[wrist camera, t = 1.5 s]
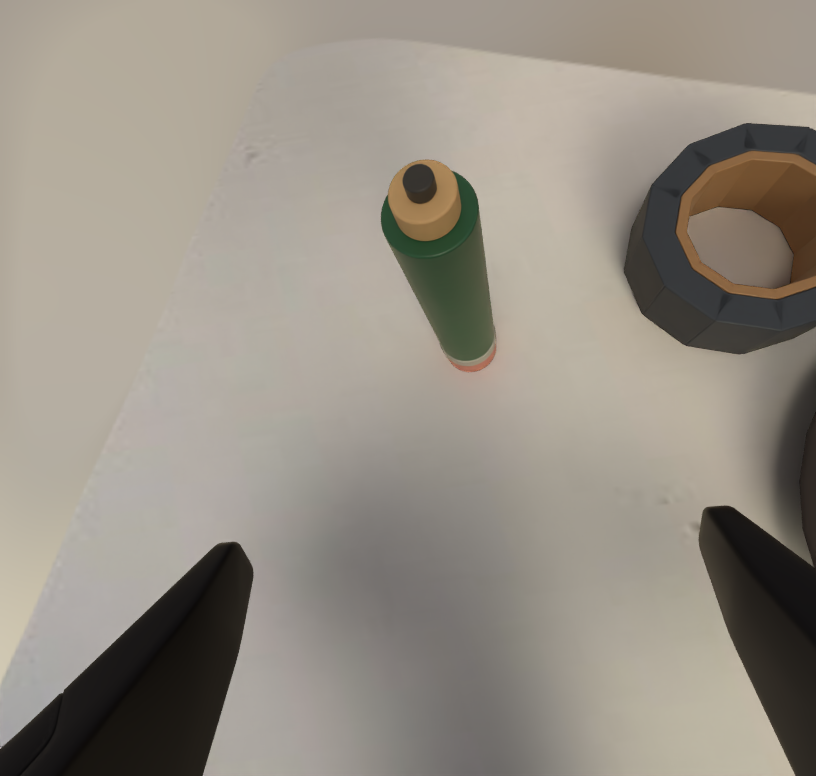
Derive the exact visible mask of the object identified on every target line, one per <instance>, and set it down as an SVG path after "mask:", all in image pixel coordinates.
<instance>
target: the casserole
mask: <svg viewBox="0 0 816 776" xmlns="http://www.w3.org/2000/svg"><path fill="white" fill-rule="evenodd" d="M800 495H801V510H802V525H803V531H804V535H805V538H806V541H807V545H808V548H809V551H810V555H811V558H812V561H813V565H814V568H815V569H816V412H815V414H814V417H813V419H812V422H811V424H810V427H809V429H808V432H807V435H806V441H805V448H804V455H803V462H802V468H801V475H800Z"/></svg>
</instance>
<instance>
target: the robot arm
mask: <svg viewBox="0 0 816 776" xmlns="http://www.w3.org/2000/svg"><path fill="white" fill-rule="evenodd" d="M699 546H700V550H701V554H702V556H703V559H704V562H705V565H706V568H707V571H708V574H709V577H710V580H711V583H712V586H713V589H714V592H715V595H716V597H717V600H718V603H719V606H720V609H721V612H722V615H723V618H724V621H725V624H726V626H727V629H728V632H729V634H730V637H731V639H732V641H733V644H734V646H735V648H736V650H737V652H738V655H739V657H740V659H741V661H742V663H743V665H744V667H745V669H746V672H747V674H748V676H749V678H750V680H751V682H752V684H753V686H754V689H755V691H756V693H757V695H758V697H759V699H760V701H761V703H762V706H763V708H764V710H765V712H766V714H767V716H768V718H769V720H770V723H771V725H772V727H773V729H774V731H775V733H776V735H777V737H778V740H779V742H780V744H781V746H782V748H783V750H784V752H785V754H786V757H787V759H788V761H789V763H790V765H791V767H792V769H793V771H794V774H795V776H816V569H815V568H814V567H813V566H811V565H810V564H809V563H807V562H806V561H805V560H803V559H802V558H801V557H799V556H798V555H796V554H795V553H794V552H792V551H791V550H790V549H788V548H787V547H786V546H784V545H783V544H782V543H780V542H779V541H778V540H776V539H775V538H774V537H772V536H771V535H770V534H768V533H767V532H766V531H764V530H763V529H762V528H760V527H759V526H758V525H756V524H755V523H753V522H752V521H751V520H749V519H748V518H747V517H745V516H744V515H743V514H741V513H740V512H739V511H737V510H736V509H735V508H733V507H731V506H713V507H706V508H705V509H704V510H703V513H702V520H701V526H700V532H699ZM252 582H253V567H252V564H251V563H250V561H249V559H248V557H247V556H246V554H245V552H244V551H243V549H242V547H241V545H240V544H239V543H237V542H226V543H219V544H217V545H216V546H214V547H213V548H212V549H211V550H210V551H209V552H208V553H207V554H206V555H205V556H204V557H203V558H202V559H201V560H200V561H199V562H198V563H197V564H196V565H194V566H193V567H192V568H191V569H190V570H189V571H188V572H187V573H186V574H185V575H184V576H183V577H182V578H181V579H180V580H179V581H178V582H177V583H176V584H175V585H174V586H172V587H171V588H170V589H169V590H168V591H167V592H166V593H165V594H164V595H163V596H162V597H161V598H160V599H159V600H158V601H157V602H156V603H155V604H154V605H153V606H152V607H150V608H149V609H148V610H147V611H146V612H145V613H144V614H143V615H142V616H141V617H140V618H139V619H138V620H137V621H136V622H135V623H134V624H133V625H132V626H131V627H129V628H128V629H127V630H126V631H125V632H124V633H123V634H122V635H121V636H120V637H119V638H118V639H117V640H116V641H115V642H114V643H113V644H112V645H111V646H110V647H109V648H107V649H106V650H105V651H104V652H103V653H102V654H101V655H100V656H99V657H98V658H97V659H96V660H95V661H94V662H93V663H92V664H91V665H90V666H89V667H88V668H87V669H85V670H84V671H83V672H82V673H81V674H80V675H79V676H78V677H77V678H76V679H75V680H74V681H73V682H72V683H71V684H70V685H69V686H68V687H67V688H66V689H65V690H64V692H63V693H61V694H59V695H58V696H57V697H56V698H55V699H54V700H53V701H52V702H51V703H50V704H49V705H48V706H47V707H45V708H44V709H43V710H42V711H41V712H40V713H39V714H38V715H37V716H36V717H35V718H34V719H33V720H32V721H30V722H29V723H28V724H27V725H26V726H25V727H24V728H23V729H22V730H21V731H20V732H19V733H18V734H16V735H15V736H14V737H13V738H12V739H11V740H10V741H9V742H8V743H6V744H5V745H4V746H3V747H2V748H1V749H0V776H203V773H204V769H205V766H206V762H207V759H208V756H209V752H210V749H211V745H212V742H213V739H214V735H215V732H216V728H217V725H218V722H219V718H220V715H221V711H222V708H223V705H224V701H225V698H226V694H227V691H228V688H229V684H230V681H231V677H232V674H233V671H234V667H235V664H236V660H237V656H238V653H239V649H240V644H241V640H242V635H243V630H244V624H245V619H246V614H247V608H248V603H249V598H250V593H251V587H252Z"/></svg>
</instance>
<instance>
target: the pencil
mask: <svg viewBox="0 0 816 776" xmlns="http://www.w3.org/2000/svg"><path fill="white" fill-rule="evenodd" d="M381 226H382V230H383V233H384V235H385V237H386V239H387V241H388V243H389V245H390V247H391V249H392V251H393V253H394V255H395V257H396V259H397V261H398V263H399V264H400V266H401V268H402V270H403V272H404V274H405V276H406V278H407V280H408V282H409V284H410V286H411V288H412V290H413V292H414V293H415V295H416V297H417V299H418V301H419V303H420V305H421V307H422V309H423V311H424V313H425V315H426V317H427V319H428V320H429V322H430V324H431V326H432V328H433V330H434V332H435V334H436V336H437V338H438V340H439V342H440V346H441V348H442V350H443V352H444V354H445V355H446V356H447V358H448V359H449V361H450V362H451V364H452V365H453V366H455V367H456V368H458V369H459V370H462V371H466V372H474V371H478V370H481V369H483V368H485V367H486V366H487V365H488V364H489V363H490V362H491V361H492V359H493V357H494V355H495V352H496V332H495V327H494V324H493V318H492V310H491V302H490V294H489V286H488V278H487V270H486V261H485V253H484V245H483V237H482V229H481V221H480V213H479V205H478V199H477V196H476V193H475V191H474V189H473V187H472V186H471V184H470V183H469V182H468V181H467V180H466V179H465V178H463V177H462V176H461V175H459V174H458V173H456V172H454V171H451V170H450V169H449V168H448V167H447V166H446V165H444V164H442V163H440V162H438V161H434V160H419V161H415V162H412V163H410V164H408V165H406V166H405V167H403V168H402V169H401V170H400V171H399V172H398V173H397V174H396V175H395V176H394V178H393V180H392V182H391V184H390V187H389V191H388V195H387V197H386V199H385V201H384V204H383V207H382V212H381Z"/></svg>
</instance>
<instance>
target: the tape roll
mask: <svg viewBox="0 0 816 776" xmlns="http://www.w3.org/2000/svg"><path fill="white" fill-rule="evenodd" d="M717 206H720V207H730V208H740V209H750V210H753V211H755V212H756V213H758V214H759V215H761V216H763V217H764V218H766V219H768V220H769V221H771V222H772V223H774V224H776V225H777V226H779V227H780V228H781V230H782V232H783V234H784V236H785V238H786V240H787V242H788V244H789V245H790V247H791V249H792V251H793V253H794V260H793V267H792V274H791V282H790V284H788V285H785V286H782V287H779V288H776V289H770V288H762V287H755V286H747V285H739V284H733V283H732V282H730V281H729V280H727V279H726V278H724V277H723V276H721V275H720V274H718V273H717V272H715V271H714V270H712V269H711V268H709V267H708V266H706V265H705V264H703V263H702V262H701V261H700V259H699V256H698V254H697V252H696V250H695V248H694V246H693V244H692V242H691V240H690V237H689V235H688V233H687V226H688V220H689V216H692V215H695V214H697V213H700V212H703V211H706V210H709V209H712V208H714V207H717ZM624 270H625V271H624V273H625V275H626V277H627V280H628V282H629V284H630V287H631V289H632V291H633V294H634V296H635V298H636V301H637V303H638V305H639V308H640V310H641V312H642V314H644V316H646V317H647V318H648V319H650V320H651V321H653V322H654V323H655V324H657V325H658V326H659V327H661V328H662V329H663V330H665V331H666V332H668V333H669V334H670V335H672V336H673V337H674V338H676V339H677V340H679V341H680V342H681V343H683V344H685V345H686V346H691V347H698V348H704V349H710V350H716V351H722V352H729V353H735V354H745V353H748V352H751V351H754V350H757V349H761V348H764V347H767V346H770V345H773V344H777V343H780V342H783V341H786V340H789V339H793V338H795V337H797V336H799V335H801V334H803V333H805V332H807V331H809V330H810V329H812V328H814V327H816V131H815V130H813V129H809V127H800V126H784V125H768V124H752V123H746V124H742V125H740V126H737V127H734V128H731V129H729V130H726V131H723V132H721V133H718V134H715V135H713V136H710V137H707V138H705V139H702V140H699V141H697V142H694V143H691V144H689V145H688V146H687V147H686V148H685V149H684V150H683V151H682V152H681V153H680V154H679V156H678V157H677V158H676V159H675V160H674V161H673V162H672V163H671V164H670V165H669V166H668V168H667V169H666V170H665V171H664V172H663V173H662V174H661V175H660V176H659V177H658V178H657V179H656V181H655V182H654V183H653V184H652V185H651V188H650V190H649V192H648V194H647V196H646V198H645V200H644V203H643V205H642V207H641V209H640V211H639V213H638V216H637V218H636V220H635V222H634V224H633V226H632V229H631V235H630V240H629V246H628V251H627V256H626V262H625V267H624Z"/></svg>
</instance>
